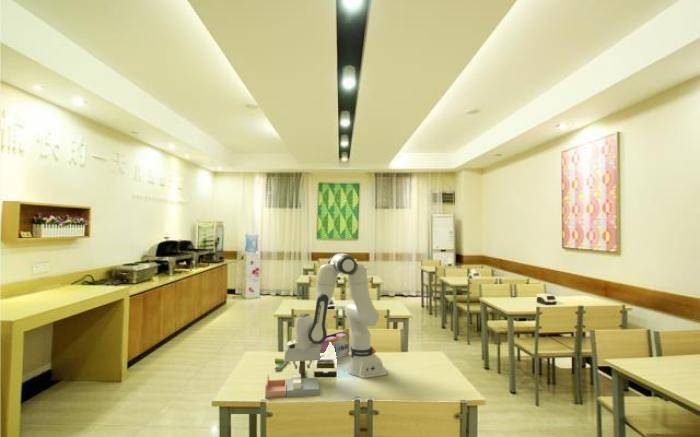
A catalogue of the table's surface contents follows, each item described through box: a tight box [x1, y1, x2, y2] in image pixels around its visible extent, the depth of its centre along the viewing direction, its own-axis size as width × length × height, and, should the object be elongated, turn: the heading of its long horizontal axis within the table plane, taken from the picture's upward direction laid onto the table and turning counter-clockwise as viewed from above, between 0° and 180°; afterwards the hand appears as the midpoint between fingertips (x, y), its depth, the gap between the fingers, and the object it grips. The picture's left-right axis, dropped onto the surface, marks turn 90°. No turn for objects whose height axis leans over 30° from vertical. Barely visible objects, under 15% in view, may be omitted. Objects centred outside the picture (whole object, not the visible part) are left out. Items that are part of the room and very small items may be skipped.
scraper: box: [298, 361, 306, 378], centre depth 192 cm, size 3×18×8 cm, turn 10°
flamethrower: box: [274, 357, 292, 371], centre depth 212 cm, size 29×3×10 cm
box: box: [264, 374, 287, 399], centre depth 174 cm, size 10×13×6 cm
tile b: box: [293, 379, 301, 389], centre depth 172 cm, size 4×4×3 cm
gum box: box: [320, 331, 350, 360], centre depth 222 cm, size 24×8×14 cm, turn 134°
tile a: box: [292, 373, 301, 380], centre depth 179 cm, size 4×4×3 cm
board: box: [286, 377, 320, 398], centre depth 176 cm, size 16×13×3 cm
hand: (302, 368), depth 192 cm, fingers open, 5 cm apart
